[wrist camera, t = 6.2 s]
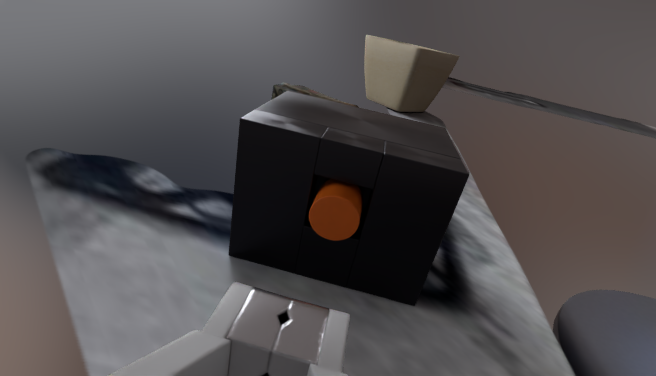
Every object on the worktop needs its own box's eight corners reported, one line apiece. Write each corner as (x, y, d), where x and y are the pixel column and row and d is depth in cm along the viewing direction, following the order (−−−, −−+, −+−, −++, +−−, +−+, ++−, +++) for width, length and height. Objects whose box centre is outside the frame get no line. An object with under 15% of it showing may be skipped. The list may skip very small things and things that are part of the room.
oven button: (357, 223, 28) (368, 183, 26) (353, 246, 25) (365, 203, 23) (314, 212, 28) (322, 172, 26) (304, 233, 25) (313, 190, 23)
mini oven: (417, 232, 39) (455, 130, 33) (426, 310, 28) (485, 178, 23) (272, 194, 40) (287, 90, 35) (228, 255, 29) (239, 117, 24)
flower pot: (391, 97, 113) (407, 42, 105) (440, 115, 101) (461, 55, 93) (350, 96, 101) (364, 34, 93) (400, 117, 89) (420, 47, 81)
